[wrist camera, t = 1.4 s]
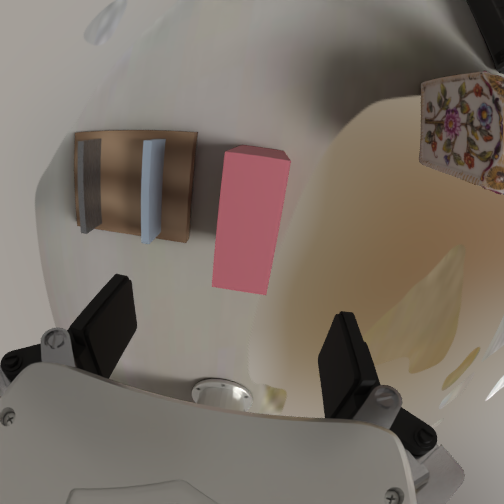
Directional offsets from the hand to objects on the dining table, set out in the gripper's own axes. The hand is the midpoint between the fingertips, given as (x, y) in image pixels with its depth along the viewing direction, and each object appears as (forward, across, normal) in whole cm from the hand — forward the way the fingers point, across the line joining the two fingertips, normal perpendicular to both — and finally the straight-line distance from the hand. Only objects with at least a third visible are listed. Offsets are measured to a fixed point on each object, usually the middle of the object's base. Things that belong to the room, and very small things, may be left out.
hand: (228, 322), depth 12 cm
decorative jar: (+24, -25, -15) cm, 38 cm away
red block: (+24, 0, 0) cm, 24 cm away
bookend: (+22, +22, 0) cm, 31 cm away
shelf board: (+24, +17, 0) cm, 29 cm away
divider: (+22, +12, 0) cm, 25 cm away
